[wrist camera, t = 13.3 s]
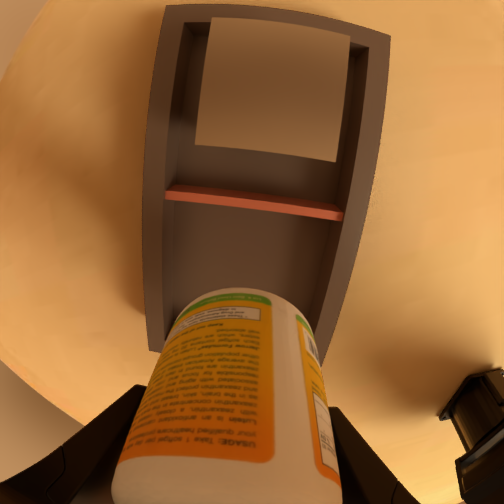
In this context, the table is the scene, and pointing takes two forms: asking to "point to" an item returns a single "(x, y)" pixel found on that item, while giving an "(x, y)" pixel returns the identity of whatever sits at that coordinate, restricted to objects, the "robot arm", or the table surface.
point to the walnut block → (273, 88)
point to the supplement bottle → (233, 411)
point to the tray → (253, 185)
